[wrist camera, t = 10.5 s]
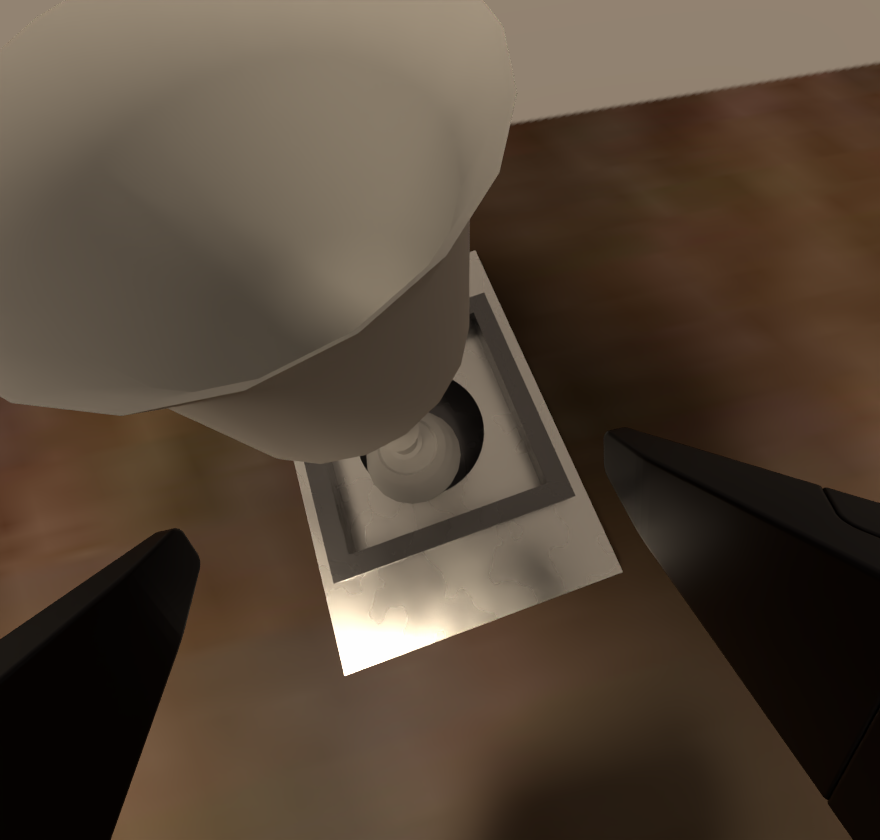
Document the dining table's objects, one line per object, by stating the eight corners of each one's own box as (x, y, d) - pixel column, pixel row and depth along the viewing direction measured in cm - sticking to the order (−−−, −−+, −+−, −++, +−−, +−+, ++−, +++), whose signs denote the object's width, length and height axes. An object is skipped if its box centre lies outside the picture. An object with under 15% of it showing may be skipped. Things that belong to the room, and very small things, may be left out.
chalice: (406, 370, 23) (230, -123, 6) (505, 438, 22) (640, 29, 5) (321, 472, 22) (-218, 201, 5) (421, 553, 20) (159, 588, 3)
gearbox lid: (617, 571, 20) (635, 574, 18) (349, 670, 20) (334, 686, 18) (475, 259, 26) (475, 232, 24) (267, 329, 26) (248, 309, 24)
